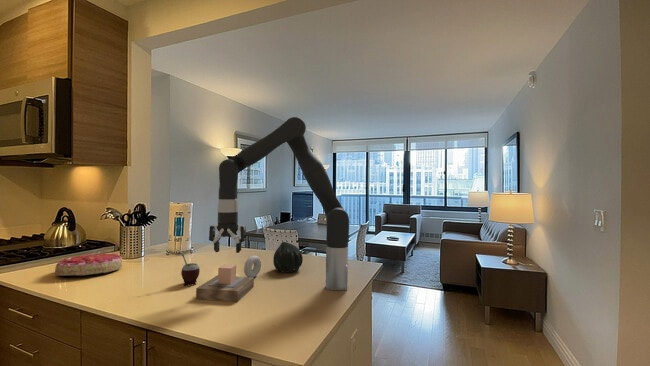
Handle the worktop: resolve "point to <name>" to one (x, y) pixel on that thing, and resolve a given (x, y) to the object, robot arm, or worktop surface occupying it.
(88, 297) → the worktop surface
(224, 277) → the terracotta block
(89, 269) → the cake
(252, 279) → the walnut base
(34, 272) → the worktop surface
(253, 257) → the donut
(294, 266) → the squash
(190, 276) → the mate gourd
